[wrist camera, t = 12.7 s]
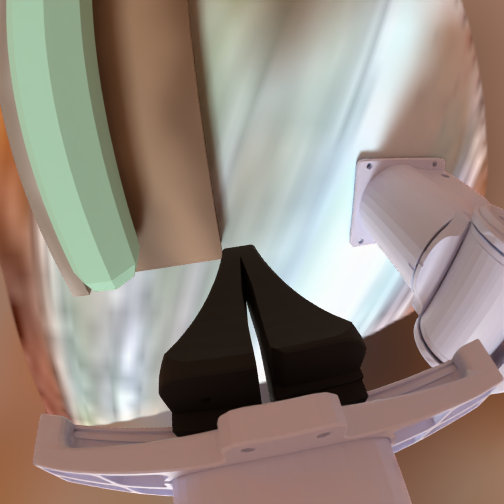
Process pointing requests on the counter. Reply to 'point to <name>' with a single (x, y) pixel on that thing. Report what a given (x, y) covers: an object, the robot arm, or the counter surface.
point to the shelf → (140, 133)
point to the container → (70, 137)
